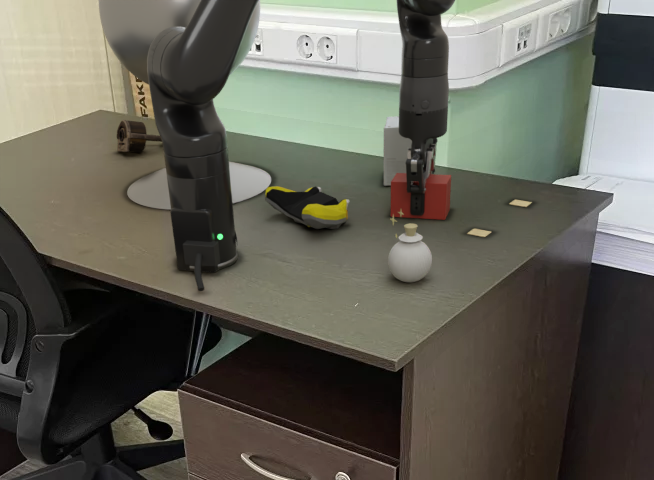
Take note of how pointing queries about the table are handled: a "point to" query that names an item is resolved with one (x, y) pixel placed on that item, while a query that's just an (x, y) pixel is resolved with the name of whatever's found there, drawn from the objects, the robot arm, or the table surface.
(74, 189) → the table surface
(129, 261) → the table surface
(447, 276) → the table surface
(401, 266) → the white potion bottle
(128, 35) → the desk lamp
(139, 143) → the mechanical counter
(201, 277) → the robot arm
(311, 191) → the black yellow shoe-shaped piece
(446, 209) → the block
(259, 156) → the table surface
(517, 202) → the edge tape marks
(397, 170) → the small box
